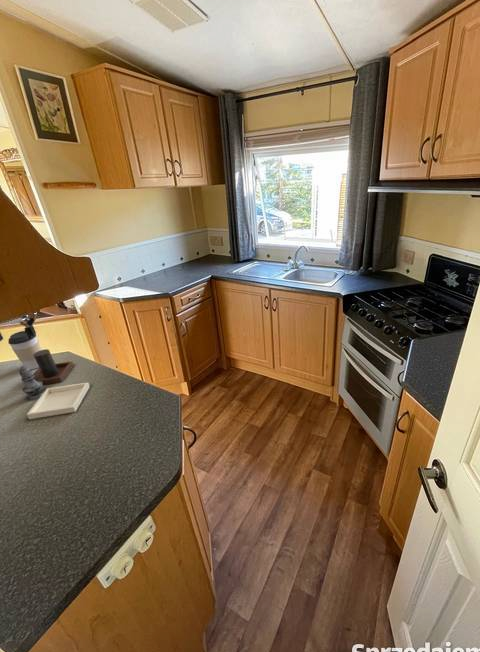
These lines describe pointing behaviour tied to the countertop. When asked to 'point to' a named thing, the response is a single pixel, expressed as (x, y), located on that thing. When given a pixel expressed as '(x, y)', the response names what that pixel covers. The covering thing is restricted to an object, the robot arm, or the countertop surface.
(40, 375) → the dark tray
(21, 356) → the coffee cup
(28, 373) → the marbled chess pawn
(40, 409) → the light tray
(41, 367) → the dark gray cylinder
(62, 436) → the countertop surface
